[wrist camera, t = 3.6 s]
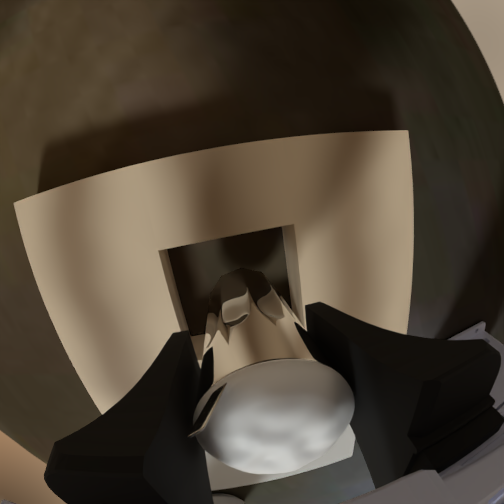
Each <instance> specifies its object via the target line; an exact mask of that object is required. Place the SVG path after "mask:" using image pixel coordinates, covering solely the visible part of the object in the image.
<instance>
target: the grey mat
mask: <svg viewBox="0 0 504 504" xmlns="http://www.w3.org/2000/svg"><path fill="white" fill-rule="evenodd" d="M354 442H355V435H354V433H353V430H352V428H351V426H350V424H349V425H348V427H347V428H346V430H345V431H344V433H343V434H342V435H341V436H340V437H339V439H338V440H337V441H336V443H335V444H334V445H333V447H332V448H331V449H330V450H329V451H328V452H327V453H325V454H324V455H323V456H321V457H319V458H318V459H316V460H314V461H312V462H310V463H308V464H307V465H305V466H303V467H301V468H300V469H298V470H295V471H292V472H287V473H279V474H253V473H248V472H244V471H241V470H238V469H235V468H233V467H230V466H228V465H226V464H224V463H222V462H221V461H219V460H217V459H216V458H214V457H213V456H211V455H210V454H209V453H207V452H206V451H205V455H206V462H207V469H208V475H209V481H210V486H211V491H212V490H220V489H227V488H234V487H240V486H245V485H251V484H256V483H261V482H266V481H270V480H275V479H279V478H283V477H287V476H291V475H295V474H298V473H302V472H306V471H309V470H312V469H316V468H319V467H322V466H325V465H328V464H331V463H334V462H337V461H340V460H343V459H346V458H348V457H351V456H352V454H353V448H354Z"/></svg>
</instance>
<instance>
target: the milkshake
mask: <svg viewBox="0 0 504 504" xmlns="http://www.w3.org/2000/svg"><path fill="white" fill-rule="evenodd" d="M354 408H355V400H354V395H353V392H352V390H351V388H350V386H349V384H348V383H347V381H346V380H345V379H344V378H343V377H342V375H341V374H340V373H339V371H338V370H337V369H336V367H335V366H334V365H333V364H332V362H331V361H330V360H329V359H328V357H327V356H326V355H325V353H324V352H323V351H322V350H321V348H320V347H319V346H318V345H317V343H316V342H315V341H314V339H313V338H312V337H311V336H310V335H309V334H308V333H307V331H306V330H305V328H304V327H303V326H302V324H301V323H300V321H299V320H298V318H297V317H296V316H295V314H294V313H293V311H292V310H291V308H290V307H289V306H288V304H287V303H286V301H285V300H284V298H283V297H282V296H281V294H280V293H279V291H278V290H277V288H276V287H275V286H274V285H273V284H272V283H271V281H270V280H269V279H268V278H267V277H266V276H265V275H264V274H263V273H262V272H261V271H256V270H250V269H245V268H239V269H236V270H234V271H232V272H229V273H227V274H224V275H222V276H221V277H220V279H219V280H218V282H217V283H216V285H215V287H214V288H213V290H212V291H211V293H210V299H209V307H208V315H207V323H206V331H205V339H204V348H203V357H202V364H201V371H200V377H199V384H198V390H197V397H196V404H195V411H194V417H193V426H192V428H191V430H190V431H189V433H188V435H187V438H191V437H192V436H194V435H195V436H196V438H197V440H198V442H199V444H200V445H201V447H202V448H203V449H204V450H205V451H206V452H207V453H209V454H210V455H211V456H213V457H214V458H216V459H217V460H219V461H221V462H222V463H224V464H226V465H228V466H230V467H233V468H235V469H238V470H241V471H244V472H248V473H253V474H279V473H287V472H292V471H295V470H298V469H300V468H301V467H303V466H305V465H307V464H308V463H310V462H312V461H314V460H316V459H318V458H319V457H321V456H323V455H324V454H325V453H327V452H328V451H329V450H330V449H331V448H332V447H333V445H334V444H335V443H336V441H337V440H338V439H339V437H340V436H341V435H342V434H343V433H344V431H345V430H346V428H347V427H348V425H349V423H350V421H351V419H352V416H353V413H354Z"/></svg>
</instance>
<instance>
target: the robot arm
mask: <svg viewBox="0 0 504 504" xmlns="http://www.w3.org/2000/svg"><path fill="white" fill-rule="evenodd" d="M305 314H306V327H307V333H308V334H309V335H310V336H311V337H312V338H313V339H314V341H315V342H316V343H317V345H318V346H319V347H320V348H321V350H322V351H323V352H324V353H325V355H326V356H327V357H328V359H329V360H330V361H331V362H332V364H333V365H334V366H335V367H336V369H337V370H338V371H339V373H340V374H341V375H342V377H343V378H344V379H345V380H346V381H347V383H348V384H349V386H350V388H351V390H352V392H353V395H354V400H355V408H354V413H353V416H352V419H351V421H350V423H349V424H350V426H351V428H352V430H353V433H354V435H355V437H356V439H357V442H358V444H359V446H360V449H361V451H362V454H363V456H364V459H365V461H366V464H367V466H368V469H369V471H370V474H371V477H372V480H373V483H374V485H375V488H376V489H375V490H373V491H370V492H368V493H366V494H363V495H361V496H358V497H355V498H353V499H350V500H347V501H345V502H342V503H339V504H504V345H503V344H502V343H500V342H499V341H498V340H496V339H495V338H494V337H492V336H491V335H490V334H488V333H487V332H485V331H484V330H485V326H486V323H485V322H483V321H482V322H480V323H478V324H476V325H474V326H472V327H471V328H469V329H467V330H465V331H463V332H461V333H459V334H457V335H455V336H453V337H451V338H449V339H447V340H442V339H430V338H423V337H417V336H411V335H406V334H401V333H398V332H394V331H390V330H387V329H383V328H380V327H377V326H375V325H372V324H369V323H367V322H364V321H362V320H359V319H357V318H355V317H352V316H350V315H348V314H346V313H344V312H342V311H340V310H338V309H335V308H333V307H331V306H329V305H327V304H325V303H322V302H316V303H312V304H308V305H305ZM200 371H201V368H200V365H199V362H198V359H197V356H196V353H195V350H194V347H193V343H192V340H191V337H190V334H189V330H186V331H180V332H175V333H172V335H171V336H170V338H169V339H168V341H167V342H166V344H165V345H164V347H163V348H162V350H161V351H160V353H159V354H158V356H157V357H156V359H155V360H154V362H153V363H152V364H151V366H150V367H149V368H148V370H147V371H146V372H145V374H144V375H143V376H142V377H141V379H140V380H139V381H138V382H137V383H136V384H135V386H134V387H133V388H132V389H131V390H130V391H129V392H128V393H127V394H126V395H125V396H124V397H123V398H122V399H121V400H119V401H118V402H117V403H116V404H115V405H114V406H112V407H111V408H110V409H109V410H108V411H106V412H105V413H104V414H103V415H101V416H100V417H98V418H97V419H96V420H94V421H93V422H91V423H90V424H88V425H86V426H85V427H83V428H82V429H80V430H78V431H76V432H74V433H72V434H71V435H69V436H67V437H65V438H63V439H61V440H59V441H56V442H55V443H54V446H53V449H52V451H51V454H50V457H49V460H48V464H47V467H46V471H45V473H44V480H45V482H46V483H47V485H48V487H49V488H50V489H51V490H52V491H53V492H54V493H55V494H56V495H57V496H58V497H60V498H61V499H62V500H63V501H64V502H66V503H67V504H214V502H213V497H212V492H211V486H210V481H209V475H208V469H207V462H206V455H205V450H204V449H203V448H202V447H201V445H200V444H199V442H198V440H197V438H196V436H195V435H194V436H192V437H191V438H187V435H188V433H189V431H190V430H191V428H192V426H193V417H194V411H195V404H196V397H197V390H198V384H199V377H200ZM1 504H16V503H13V502H10V501H7V500H2V502H1Z"/></svg>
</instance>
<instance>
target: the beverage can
mask: <svg viewBox="0 0 504 504" xmlns="http://www.w3.org/2000/svg"><path fill="white" fill-rule="evenodd" d="M212 497H213V502H214V504H245V502H244V501H242V500H241V499H239V498H237V497H235V496H233V495H229V494H212Z"/></svg>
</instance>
